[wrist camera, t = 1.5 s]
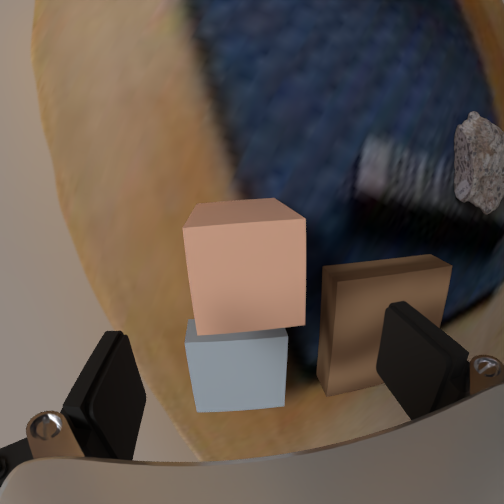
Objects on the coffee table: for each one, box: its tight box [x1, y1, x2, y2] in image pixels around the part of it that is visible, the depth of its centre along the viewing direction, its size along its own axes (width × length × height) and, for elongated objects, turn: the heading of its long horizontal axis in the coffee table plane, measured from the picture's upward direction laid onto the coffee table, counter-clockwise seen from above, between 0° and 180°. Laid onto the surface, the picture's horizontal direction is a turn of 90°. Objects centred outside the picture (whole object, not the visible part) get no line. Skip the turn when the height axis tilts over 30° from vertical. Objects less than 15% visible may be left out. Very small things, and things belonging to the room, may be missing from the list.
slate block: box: [185, 319, 288, 412], centre depth 25 cm, size 8×8×4 cm
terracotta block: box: [183, 198, 306, 336], centre depth 20 cm, size 6×6×9 cm
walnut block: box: [317, 254, 452, 397], centre depth 26 cm, size 12×12×4 cm
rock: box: [454, 111, 504, 214], centre depth 22 cm, size 9×11×4 cm
